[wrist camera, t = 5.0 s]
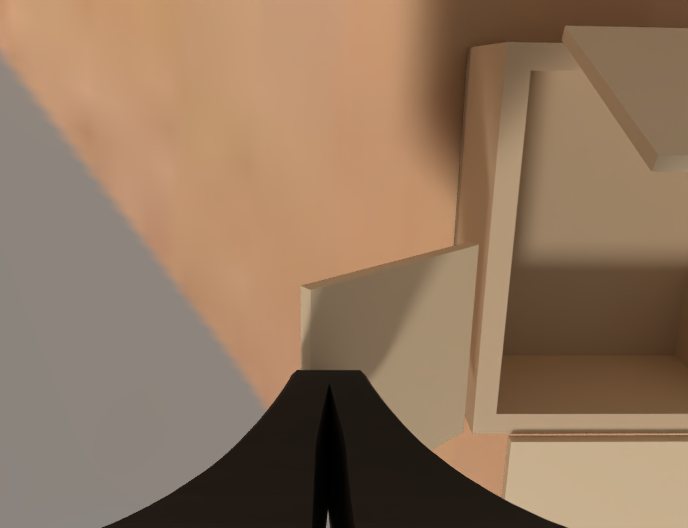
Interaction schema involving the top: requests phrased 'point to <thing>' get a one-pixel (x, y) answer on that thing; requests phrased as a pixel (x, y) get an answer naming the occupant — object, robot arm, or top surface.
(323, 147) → the top surface
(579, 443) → the carton
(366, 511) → the robot arm
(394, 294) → the side flap
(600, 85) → the long flap
